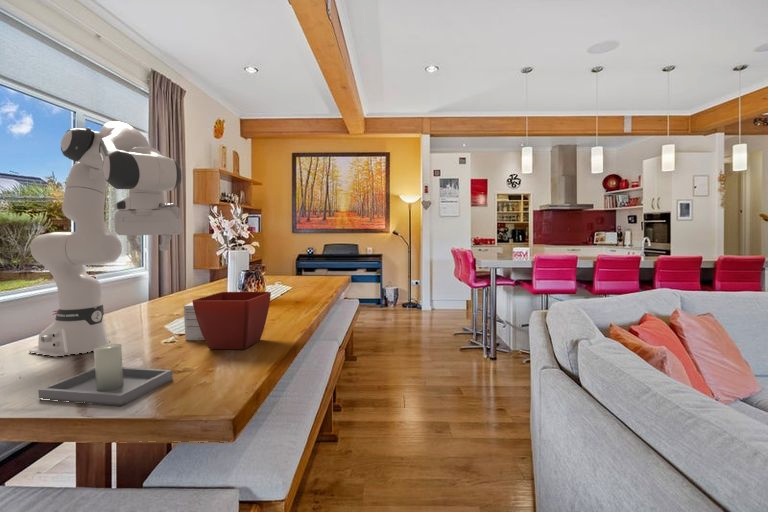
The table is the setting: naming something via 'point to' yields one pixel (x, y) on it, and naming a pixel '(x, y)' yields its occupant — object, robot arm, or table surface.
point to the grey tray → (85, 390)
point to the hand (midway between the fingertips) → (149, 250)
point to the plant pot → (232, 318)
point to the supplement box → (191, 324)
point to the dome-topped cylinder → (108, 367)
